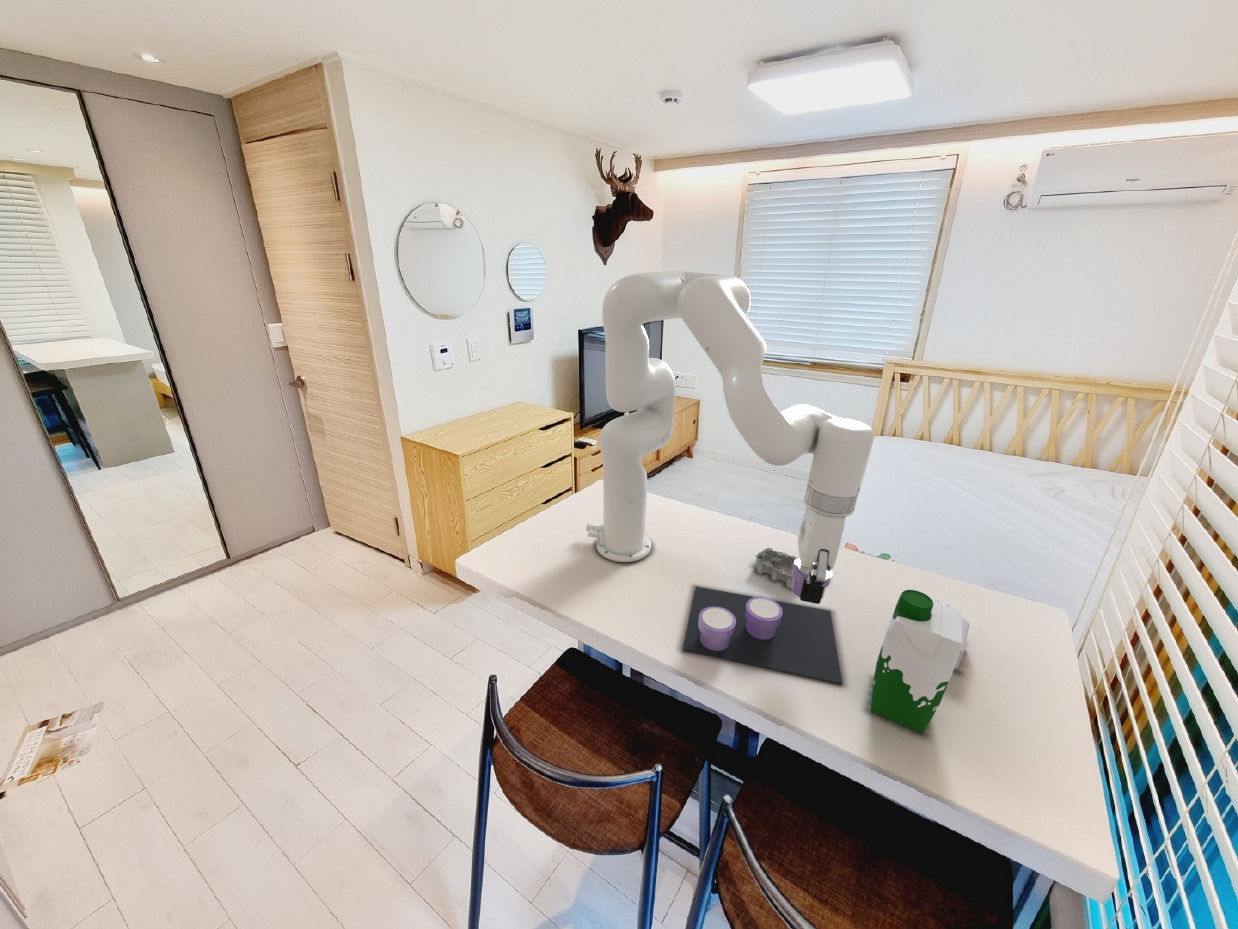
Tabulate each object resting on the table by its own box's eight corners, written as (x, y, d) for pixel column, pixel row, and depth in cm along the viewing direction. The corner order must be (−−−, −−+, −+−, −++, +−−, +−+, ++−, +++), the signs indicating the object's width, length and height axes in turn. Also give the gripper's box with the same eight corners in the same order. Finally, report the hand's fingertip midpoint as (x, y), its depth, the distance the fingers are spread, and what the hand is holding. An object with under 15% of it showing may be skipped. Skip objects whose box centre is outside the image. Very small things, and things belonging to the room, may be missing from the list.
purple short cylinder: (694, 648, 87) (696, 627, 85) (698, 624, 93) (701, 603, 91) (731, 656, 86) (735, 634, 84) (733, 631, 92) (737, 609, 90)
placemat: (682, 650, 87) (682, 649, 87) (695, 587, 103) (696, 586, 103) (842, 684, 81) (842, 683, 81) (830, 612, 97) (830, 610, 97)
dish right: (788, 598, 85) (794, 575, 83) (787, 576, 90) (792, 553, 88) (828, 606, 83) (835, 583, 81) (825, 583, 89) (831, 560, 87)
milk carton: (871, 674, 83) (901, 576, 75) (933, 699, 79) (973, 598, 71) (862, 713, 77) (895, 610, 68) (930, 742, 72) (974, 636, 64)
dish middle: (741, 637, 90) (745, 616, 88) (743, 614, 96) (746, 593, 94) (778, 645, 89) (783, 623, 87) (778, 620, 94) (782, 600, 92)
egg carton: (812, 578, 107) (815, 562, 105) (794, 593, 102) (797, 576, 101) (768, 555, 114) (771, 540, 112) (749, 568, 109) (752, 553, 108)
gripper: (802, 470, 87) (784, 555, 95) (809, 520, 72) (786, 617, 80) (848, 476, 86) (826, 563, 93) (865, 529, 70) (837, 627, 78)
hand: (808, 587), depth 86 cm, fingers closed on dish right, 6 cm apart
